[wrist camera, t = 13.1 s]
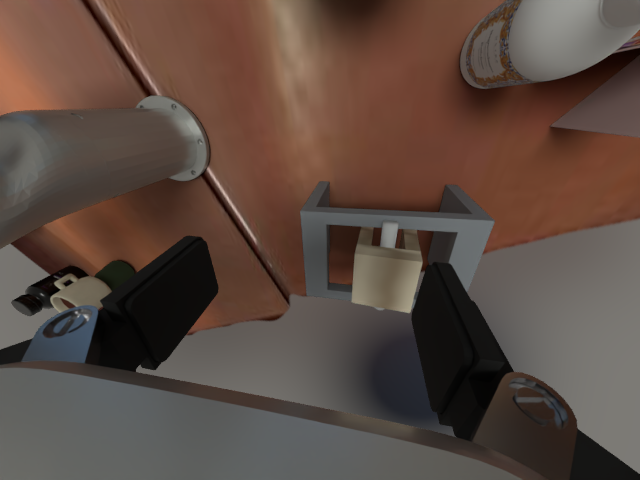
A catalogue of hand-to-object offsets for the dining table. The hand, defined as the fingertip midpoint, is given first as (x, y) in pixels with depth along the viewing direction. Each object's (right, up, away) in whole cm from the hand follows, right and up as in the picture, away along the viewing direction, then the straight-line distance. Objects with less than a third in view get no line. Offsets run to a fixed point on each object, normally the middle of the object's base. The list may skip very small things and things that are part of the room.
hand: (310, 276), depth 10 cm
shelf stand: (+10, +5, +28) cm, 30 cm away
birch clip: (+9, +1, +22) cm, 24 cm away
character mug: (-47, -5, +47) cm, 67 cm away
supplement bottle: (-64, -8, +52) cm, 83 cm away
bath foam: (+20, +23, +16) cm, 34 cm away
